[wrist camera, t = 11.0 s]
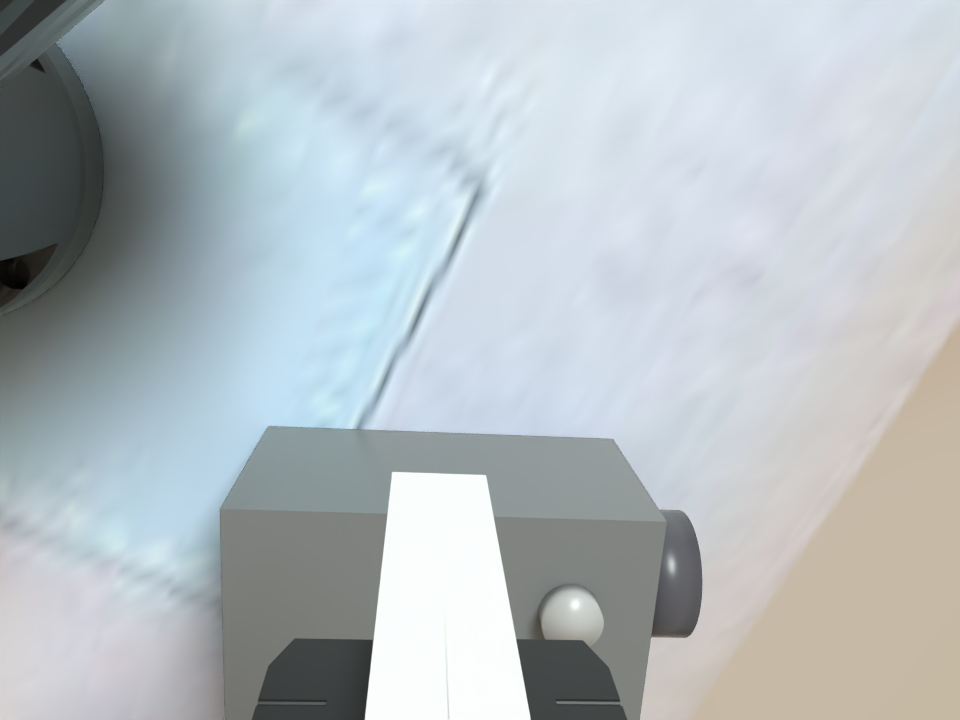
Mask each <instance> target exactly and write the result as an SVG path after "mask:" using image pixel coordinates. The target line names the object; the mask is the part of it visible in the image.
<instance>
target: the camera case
mask: <svg viewBox="0 0 960 720" xmlns="http://www.w3.org/2000/svg"><path fill="white" fill-rule="evenodd" d="M392 472H411V473H440V474H469V475H486V478H487V483H488V489H489V494H490V500H491V505H492V511H493V516H494V522H495V527H496V533H497V538H498V543H499V549H500V554H501V560H502V565H503V571H504V576H505V582H506V587H507V593H508V598H509V604H510V609H511V614H512V620H513V625H514V631H515V636H516V639H540V640H583V641H584V642H585V643H586V644H587V645H588V646H589V647H590V648H591V649H592V650H593V651H594V652H595V653H596V654H597V656H598V657H599V658H600V659H601V660H602V661H603V662H604V663H605V664H606V665H607V666H608V667H609V669H610V672H611V675H612V678H613V681H614V683H615V686H616V689H617V692H618V695H619V697H620V705H621V706H623V709H624V712H625V714H626V717H627V720H640V713H641V706H642V698H643V691H644V684H645V677H646V669H647V662H648V655H649V648H650V640H651V637H671V638H686V637H688V636H689V635H691V633H692V632H693V630H694V628H695V626H696V624H697V621H698V617H699V613H700V607H701V599H702V567H701V558H700V551H699V546H698V541H697V537H696V534H695V531H694V528H693V526H692V524H691V521H690V520H689V518H688V517H687V515H686V514H685V513H684V512H682V511H680V510H659V509H658V507H657V506H656V504H655V503H654V501H653V500H652V498H651V497H650V495H649V493H648V492H647V490H646V489H645V487H644V486H643V484H642V483H641V481H640V480H639V478H638V477H637V475H636V474H635V472H634V471H633V469H632V467H631V466H630V464H629V463H628V461H627V460H626V458H625V457H624V455H623V454H622V452H621V451H620V449H619V448H618V446H617V444H616V443H615V441H614V440H613V439H599V438H572V437H545V436H518V435H491V434H465V433H438V432H411V431H384V430H358V429H331V428H304V427H277V426H268V428H267V429H266V431H265V433H264V434H263V436H262V438H261V439H260V441H259V443H258V445H257V446H256V448H255V450H254V451H253V453H252V455H251V457H250V458H249V460H248V462H247V463H246V465H245V467H244V468H243V470H242V472H241V474H240V475H239V477H238V479H237V480H236V482H235V484H234V486H233V487H232V489H231V491H230V492H229V494H228V496H227V497H226V499H225V501H224V503H223V504H222V506H221V508H220V537H221V578H222V620H223V661H224V703H225V720H252V717H253V714H254V710H255V707H256V706H257V705H258V698H259V694H260V691H261V688H262V685H263V681H264V678H265V675H266V672H267V669H268V666H269V665H270V664H271V663H272V661H273V660H274V659H275V658H276V657H277V656H278V655H279V654H280V653H281V652H282V651H283V650H284V649H285V648H286V647H287V646H288V645H289V644H290V643H291V642H292V641H293V639H294V638H301V639H362V640H374V632H375V623H376V614H377V605H378V596H379V587H380V578H381V569H382V560H383V551H384V542H385V533H386V524H387V515H388V506H389V497H390V487H391V478H392Z"/></svg>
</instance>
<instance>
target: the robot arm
mask: <svg viewBox="0 0 960 720" xmlns="http://www.w3.org/2000/svg"><path fill="white" fill-rule="evenodd" d="M103 1H105V0H0V315H2V314H5V313H8V312H10V311H13V310H15V309H18V308H20V307H22V306H24V305H26V304H28V303H29V302H31V301H33V300H35V299H36V298H38V297H39V296H41V295H42V294H44V293H45V292H46V291H48V290H49V289H50V288H51V287H52V286H54V285H55V284H56V283H57V282H58V281H59V280H60V279H61V278H62V277H63V276H64V275H65V274H66V273H67V272H68V270H69V269H70V268H71V267H72V266H73V264H74V263H75V261H76V260H77V259H78V257H79V256H80V254H81V252H82V251H83V249H84V247H85V245H86V243H87V241H88V239H89V237H90V235H91V233H92V230H93V228H94V225H95V222H96V218H97V215H98V211H99V207H100V202H101V196H102V188H103V156H102V147H101V141H100V135H99V131H98V126H97V122H96V119H95V116H94V113H93V109H92V107H91V104H90V101H89V99H88V96H87V94H86V92H85V90H84V88H83V86H82V83H81V81H80V79H79V78H78V76H77V74H76V72H75V71H74V69H73V67H72V65H71V64H70V62H69V61H68V59H67V58H66V56H65V55H64V53H63V52H62V51H61V49H60V48H59V47H58V45H57V44H56V43H55V42H57V41H58V40H59V39H60V38H61V37H62V36H64V35H65V34H66V33H67V32H68V31H69V30H71V29H72V28H73V27H74V26H75V25H77V24H78V23H79V22H80V21H81V20H82V19H84V18H85V17H86V16H87V15H88V14H89V13H91V12H92V11H93V10H94V9H95V8H96V7H98V6H99V5H100V4H101V3H102V2H103ZM252 720H627V717H626V714H625V712H624V709H623V706H621V705H620V697H619V695H618V692H617V689H616V686H615V683H614V681H613V678H612V675H611V672H610V669H609V667H608V666H607V665H606V664H605V663H604V662H603V661H602V660H601V659H600V658H599V657H598V656H597V654H596V653H595V652H594V651H593V650H592V649H591V648H590V647H589V646H588V645H587V644H586V643H585V642H584V641H583V640H540V639H516V636H515V631H514V625H513V620H512V614H511V609H510V604H509V598H508V593H507V587H506V582H505V576H504V571H503V565H502V560H501V554H500V549H499V543H498V538H497V533H496V527H495V522H494V516H493V511H492V505H491V500H490V494H489V489H488V483H487V478H486V475H469V474H440V473H411V472H392V478H391V487H390V497H389V506H388V515H387V524H386V533H385V542H384V551H383V560H382V569H381V578H380V587H379V596H378V605H377V614H376V623H375V632H374V640H362V639H301V638H294V639H293V641H292V642H291V643H290V644H289V645H288V646H287V647H286V648H285V649H284V650H283V651H282V652H281V653H280V654H279V655H278V656H277V657H276V658H275V659H274V660H273V661H272V663H271V664H270V665H269V666H268V669H267V672H266V675H265V678H264V681H263V685H262V688H261V691H260V694H259V698H258V705H257V706H256V707H255V710H254V714H253V717H252Z"/></svg>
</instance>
